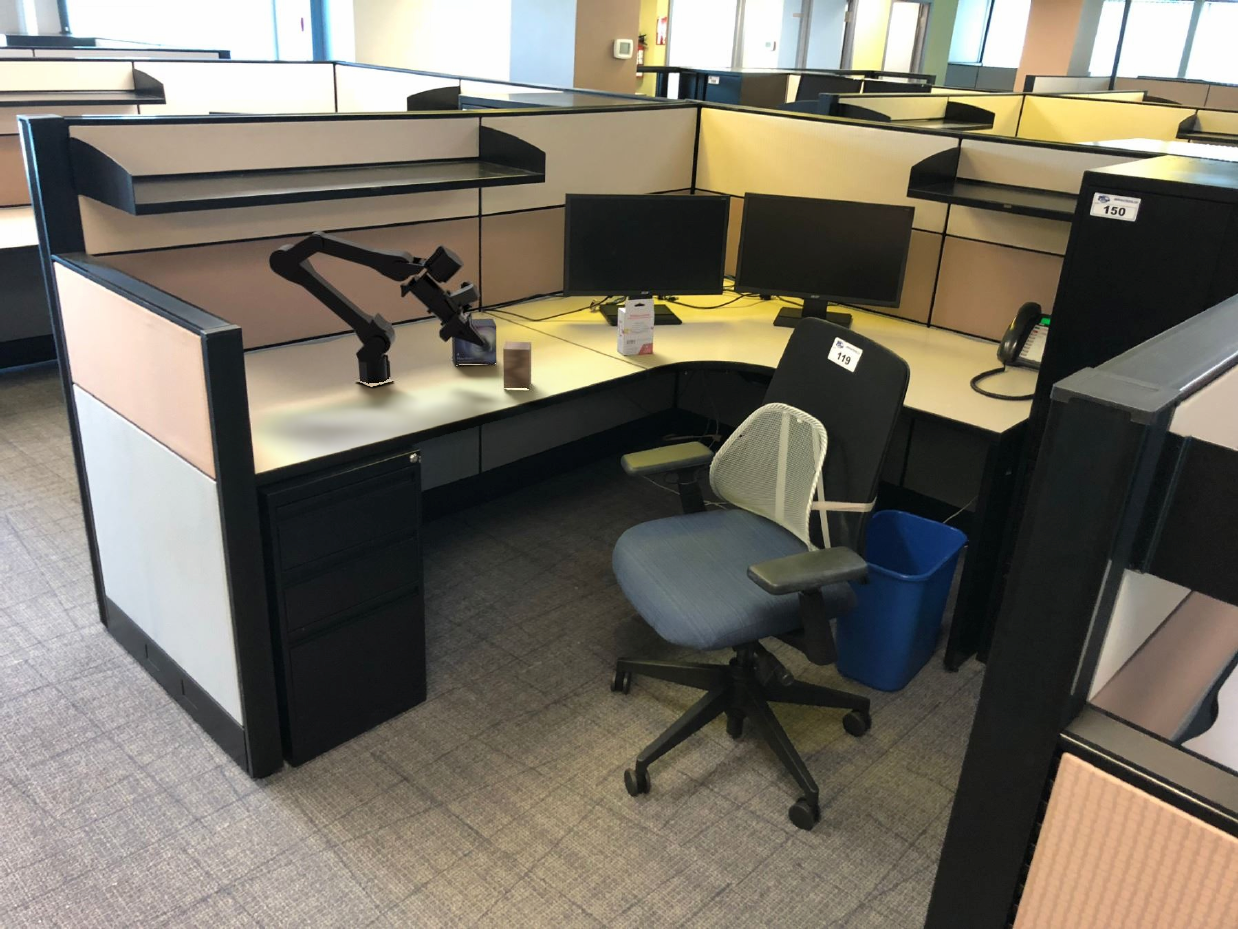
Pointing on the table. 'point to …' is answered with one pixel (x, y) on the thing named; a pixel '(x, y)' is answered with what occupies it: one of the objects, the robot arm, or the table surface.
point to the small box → (474, 353)
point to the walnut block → (517, 364)
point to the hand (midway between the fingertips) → (483, 344)
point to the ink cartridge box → (636, 327)
